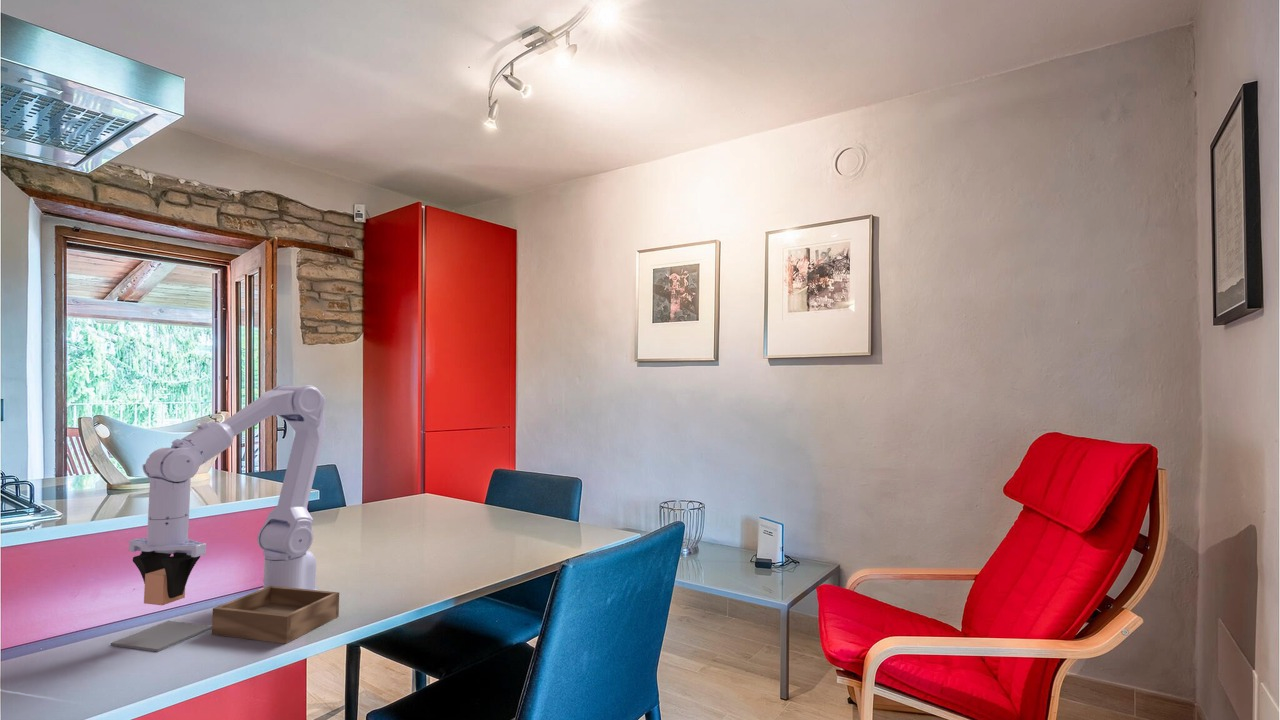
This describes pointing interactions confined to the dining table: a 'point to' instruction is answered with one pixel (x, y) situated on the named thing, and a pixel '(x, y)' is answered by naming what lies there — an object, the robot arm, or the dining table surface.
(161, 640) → the slate mat
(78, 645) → the dining table surface
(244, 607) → the walnut box
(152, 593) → the terracotta block
